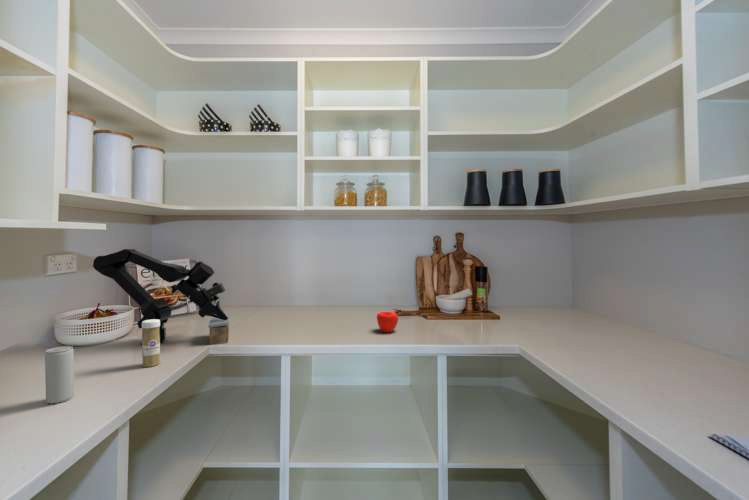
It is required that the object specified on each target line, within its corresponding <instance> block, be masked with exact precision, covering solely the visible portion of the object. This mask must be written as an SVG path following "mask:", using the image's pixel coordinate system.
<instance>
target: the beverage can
mask: <svg viewBox="0 0 749 500" xmlns="http://www.w3.org/2000/svg"><path fill="white" fill-rule="evenodd" d="M73 347H74V346H72V345H63V346H62V345H61V346H57V347H52V348H49V349H46V350H45V354H44V371H45V372H44V374H45V378H44V379H45V402H46V403H47V404H48V403H58V404H60V403H59V402H62V403H64V402H63V401H65V402H67V401H70V400H71V399H72V398H73V397H74V396H75V353H74V352H75V349H74V348H73ZM69 399H70V400H69ZM66 400H67V401H66Z"/></svg>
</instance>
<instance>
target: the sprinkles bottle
mask: <svg viewBox="0 0 749 500" xmlns="http://www.w3.org/2000/svg"><path fill="white" fill-rule="evenodd" d="M159 327H160V320H159V319H150V320H145V321H142V328H141V331H142V332H141V343H142V345H141V351H142V352H141V353H142V354H141V355H142V367H144V368H149V367H151V368H152V367H155V366H158V365H159V364H161V361H160V358H161V357H160V353H161V343H160V334H159Z"/></svg>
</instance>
